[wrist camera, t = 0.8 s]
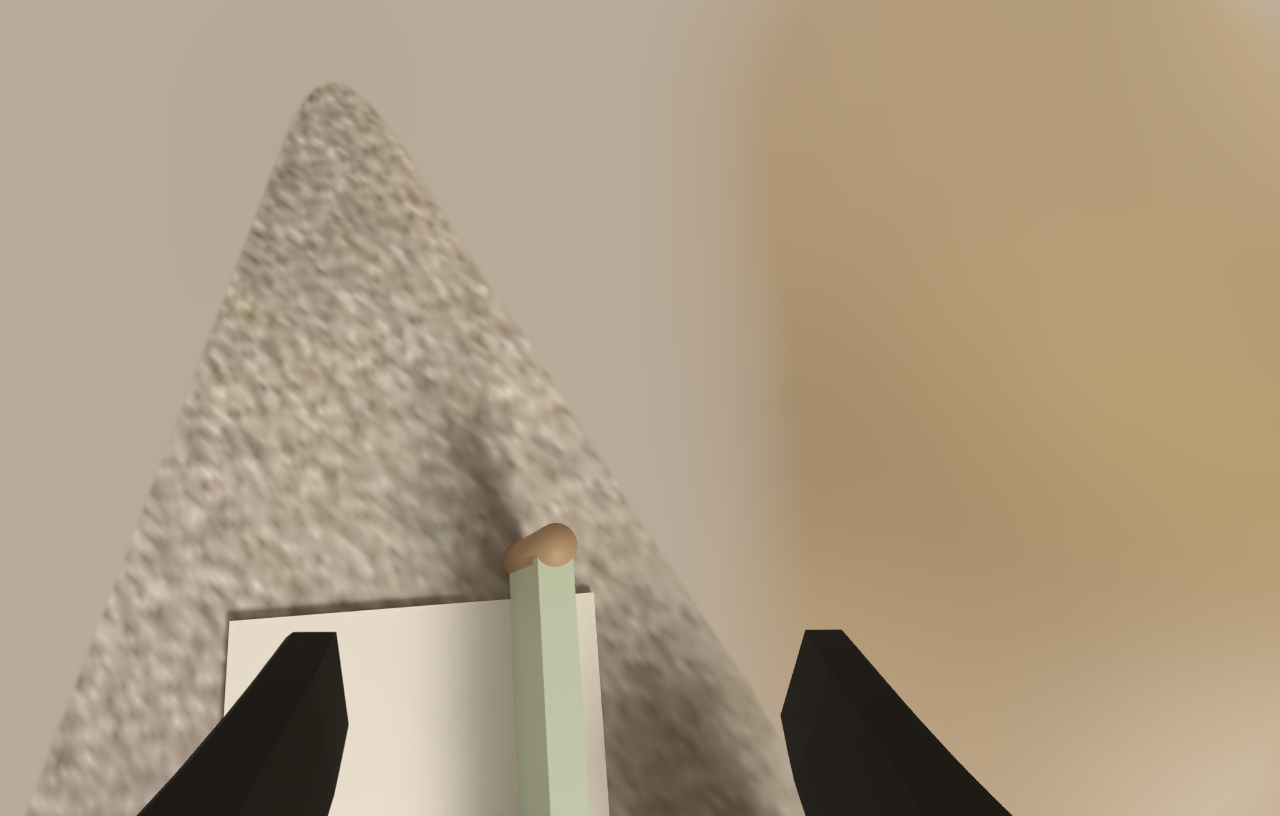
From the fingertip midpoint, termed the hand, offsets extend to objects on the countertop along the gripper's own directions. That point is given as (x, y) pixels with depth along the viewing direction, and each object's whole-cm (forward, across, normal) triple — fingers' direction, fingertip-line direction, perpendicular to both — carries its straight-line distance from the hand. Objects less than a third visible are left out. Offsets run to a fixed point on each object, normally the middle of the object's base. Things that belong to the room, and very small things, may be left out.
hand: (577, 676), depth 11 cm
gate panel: (+11, +1, +13) cm, 17 cm away
